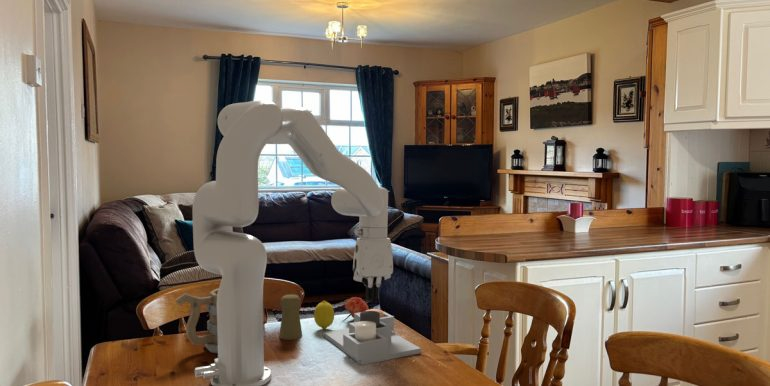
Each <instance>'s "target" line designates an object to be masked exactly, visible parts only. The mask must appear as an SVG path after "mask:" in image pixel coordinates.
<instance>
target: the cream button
mask: <svg viewBox="0 0 770 386" xmlns="http://www.w3.org/2000/svg"><path fill="white" fill-rule="evenodd" d="M355 339H356V340H357V341H359V342H364V341H370V340H375V339H376V323H374V322H371V321H361V322H357V323H355Z"/></svg>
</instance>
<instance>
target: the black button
mask: <svg viewBox="0 0 770 386" xmlns="http://www.w3.org/2000/svg"><path fill="white" fill-rule="evenodd" d="M361 321H371V322H374V323H376V328H380V313H379V312H377V311H364V312H361V313H360V322H361Z"/></svg>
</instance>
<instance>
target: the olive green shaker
mask: <svg viewBox="0 0 770 386" xmlns="http://www.w3.org/2000/svg"><path fill="white" fill-rule="evenodd" d="M300 305H301V298H300V297H299V295H297V294H285V295H283V296H282V297H280V307H281V308H282V310H281V311H282V312H281V318H280V319H281V320H280V328H279V335H278V337H279V338H280V340H285V341H286V340H297V339H301V338H302V337H303V331H302V324H301V318H300V310H299V307H300Z"/></svg>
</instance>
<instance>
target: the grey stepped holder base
mask: <svg viewBox="0 0 770 386" xmlns="http://www.w3.org/2000/svg"><path fill="white" fill-rule="evenodd" d="M382 311H383V310H382ZM360 313H361V312H360ZM360 313H354V318H353V322H349V323H348V327H346V328H339V329H334V330H328V331H323V332H322V333H323V334H322V335H323V337H324V338H325V339H326V340H328V342H330V343H331V344H333V345H334V346H336V347H337V348H338V349H340V350H341V351H342V352H344V353H345V354H346V355H348V356H349V357H350V358H352V359H353V360H355V361H356V362H357V363H359V364H360V365H361V366H362V365H363V366H364V365H367V364H368V365H369V364H373V363H378V362H382V361H388V360H392V359H393V360H394V359H397V358H402V357H408V356H414V355H419V354H421V352H422V351H421V347H419V346H418V345H416V344H414V343H412V342H410V341H408V340H406V338H403V337H402V336H400V335H398V334H397V333H394V331H395V316H394V315H391V314H389V313H388V312H386V311H383V317H382V318H380V328H376V339H375V340H370V341H364V342H359V341H357V340H356V339H355V323H357V322H360Z"/></svg>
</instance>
